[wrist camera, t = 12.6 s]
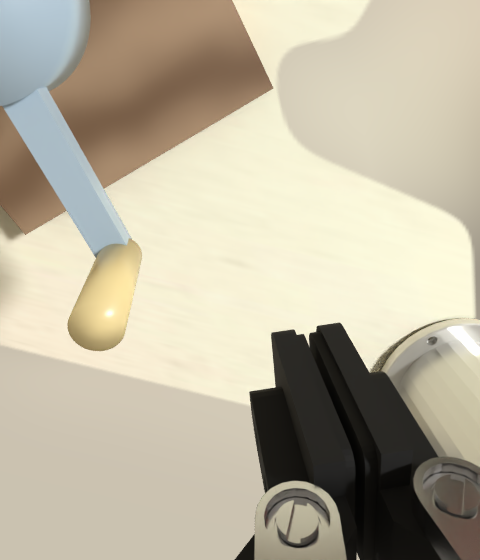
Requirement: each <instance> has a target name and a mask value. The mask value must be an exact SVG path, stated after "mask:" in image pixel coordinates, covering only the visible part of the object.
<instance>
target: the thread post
mask: <svg viewBox="0 0 480 560" xmlns="http://www.w3.org/2000/svg"><path fill="white" fill-rule="evenodd" d="M89 2H90V15H91V20H90V32H89V38H88V43H87V46H86V49H85V52H84V54H83V56H82V59H81V61H80V63H79V64H78V66H77V67H76V69H75V70H74V72H73V73H72V74H71V75H70V76H69V77H68V78H67V79H66V80H65V81H64V82H63V83H62V84H60V85H59V86H58V87H56V88H54V89H53V90H51V91H49V93H50V95H51V96H52V98H53V100H54V102H55V103H56V105H57V107H58V109H59V110H60V112H61V114H62V116H63V118H64V119H65V121H66V123H67V125H68V126H69V128H70V130H71V132H72V134H73V135H74V137H75V139H76V141H77V142H78V144H79V146H80V148H81V150H82V151H83V153H84V155H85V157H86V158H87V160H88V162H89V164H90V165H91V167H92V169H93V171H94V173H95V174H96V176H97V178H98V180H99V181H100V183H101V185H102V187H103V189H104V188H105V187H107V186H109V185H111V184H112V183H114V182H116V181H117V180H119V179H121V178H122V177H124V176H126V175H127V174H129V173H131V172H133V171H134V170H136V169H138V168H139V167H141V166H143V165H144V164H146V163H148V162H149V161H151V160H153V159H155V158H156V157H158V156H160V155H161V154H163V153H165V152H166V151H168V150H170V149H171V148H173V147H175V146H177V145H178V144H180V143H182V142H183V141H185V140H187V139H188V138H190V137H192V136H193V135H195V134H197V133H199V132H200V131H202V130H204V129H205V128H207V127H209V126H210V125H212V124H214V123H215V122H217V121H219V120H221V119H222V118H224V117H226V116H227V115H229V114H231V113H232V112H234V111H236V110H237V109H239V108H241V107H242V106H244V105H246V104H248V103H249V102H251V101H253V100H254V99H256V98H258V97H259V96H261V95H263V94H264V93H266V92H268V91H270V90H271V89H273V86H272V84H271V82H270V80H269V78H268V76H267V74H266V72H265V69H264V67H263V65H262V63H261V61H260V59H259V57H258V54H257V52H256V50H255V48H254V46H253V44H252V42H251V40H250V37H249V35H248V33H247V31H246V29H245V27H244V25H243V23H242V20H241V18H240V16H239V14H238V12H237V10H236V8H235V5H234V3H233V1H232V0H89ZM0 205H1V206H2V207H3V209H4V210H5V211H6V212H7V213H8V215H9V216H10V217H11V218H12V219H13V221H14V222H15V223H16V224H17V225H18V227H19V228H20V229H21V230H22V231H23V233H24V234H25V235H26V234H28V233H29V232H31V231H33V230H34V229H36V228H38V227H39V226H41V225H43V224H45V223H46V222H48V221H50V220H51V219H53V218H55V217H56V216H58V215H60V214H61V213H63V212H65V211H67V210H66V209H65V207H64V205H63V204H62V202H61V200H60V199H59V197H58V196H57V194H56V192H55V191H54V189H53V187H52V186H51V184H50V183H49V181H48V179H47V178H46V176H45V174H44V173H43V171H42V170H41V168H40V166H39V165H38V163H37V162H36V160H35V158H34V157H33V155H32V153H31V152H30V150H29V149H28V147H27V145H26V144H25V142H24V140H23V139H22V137H21V136H20V134H19V132H18V131H17V129H16V127H15V126H14V124H13V123H12V121H11V119H10V118H9V116H8V115H7V113H6V111H5V110H4V108H3V106H0Z"/></svg>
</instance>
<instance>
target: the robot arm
mask: <svg viewBox="0 0 480 560" xmlns="http://www.w3.org/2000/svg"><path fill="white" fill-rule="evenodd" d="M271 339H272V350H273V362H274V373H275V384H276V388H270V389H264V390H257V391H251V392H249V393H250V402H251V410H252V418H253V425H254V432H255V438H256V445H257V451H258V456H259V462H260V468H261V473H262V479H263V484H264V490H265V494H264V495H263V497H262V498H261V500H260V502H259V504H258V505H257V510H256V515H255V534H254V535H253V537H252V538H251V539H250V541H249V542H248V543H247V545H246V546H245V547H244V548H243V550H242V551H241V552H240V554H239V555H238V556H237V558H236V559H235V560H356V555H357V553H358V556H359V558H360V560H480V320H478V319H469V318H460V319H451V320H446V321H442V322H439V323H435V324H433V325H431V326H428V327H426V328H424V329H422V330H420V331H418V332H417V333H415V334H413V335H412V336H410V337H409V338H407V339H406V340H405V341H404V342H403V343H402V344H400V345H399V346H398V347H397V348H396V349H395V351H394V352H393V353H392V354H391V355H390V356H389V358H388V359H387V361H386V363H385V364H384V366H383V368H382V370H381V371H380V372H374V373H369V371H368V369H367V368H366V366H365V364H364V362H363V361H362V359H361V357H360V355H359V354H358V352H357V350H356V348H355V347H354V345H353V343H352V341H351V340H350V338H349V336H348V334H347V333H346V331H345V329H344V327H343V326H342V324H341V323H334V324H327V325H321V326H317V329H316V332H314V333H310V335H309V344H310V348H309V345H308V343H307V340H306V338H305V336H304V334H301V335H296V332H295V330H287V331H280V332H273V333H272V334H271Z"/></svg>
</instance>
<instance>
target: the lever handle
mask: <svg viewBox="0 0 480 560" xmlns="http://www.w3.org/2000/svg"><path fill="white" fill-rule="evenodd" d="M90 20H91V15H90V2H89V0H0V106H3V108H4V110H5V111H6V113H7V115H8V116H9V118H10V119H11V121H12V123H13V124H14V126H15V127H16V129H17V131H18V132H19V134H20V136H21V137H22V139H23V140H24V142H25V144H26V145H27V147H28V149H29V150H30V152H31V153H32V155H33V157H34V158H35V160H36V162H37V163H38V165H39V166H40V168H41V170H42V171H43V173H44V174H45V176H46V178H47V179H48V181H49V183H50V184H51V186H52V187H53V189H54V191H55V192H56V194H57V196H58V197H59V199H60V200H61V202H62V204H63V205H64V207H65V209H66V210H67V212H68V213H69V215H70V217H71V218H72V220H73V222H74V223H75V225H76V226H77V228H78V230H79V231H80V233H81V234H82V236H83V238H84V239H85V241H86V243H87V244H88V246H89V247H90V249H91V251H92V252H93V254H94V256H95V257H96V260H95V262H94V264H93V266H92V268H91V271H90V273H89V275H88V277H87V279H86V282H85V284H84V286H83V288H82V291H81V293H80V295H79V297H78V299H77V302H76V304H75V306H74V308H73V310H72V313H71V315H70V317H69V320H68V331H69V334H70V336H71V338H72V339H73V340H74V341H75V342H76V343H77V344H78V345H80V346H81V347H83V348H85V349H88V350H93V351H104V350H108V349H111V348H113V347H115V346H116V345H118V344H119V343H120V342H121V340H122V339H123V337H124V334H125V330H126V325H127V321H128V317H129V312H130V308H131V304H132V299H133V295H134V290H135V286H136V282H137V277H138V273H139V269H140V264H141V260H142V252H141V249H140V247H139V246H138V244H137V243H136V242H135V241H133V240H132V238H131V236H130V235H129V233H128V231H127V229H126V228H125V226H124V224H123V222H122V221H121V219H120V217H119V215H118V213H117V212H116V210H115V208H114V206H113V205H112V203H111V201H110V199H109V197H108V196H107V194H106V192H105V190H104V189H103V187H102V185H101V183H100V181H99V180H98V178H97V176H96V174H95V173H94V171H93V169H92V167H91V165H90V164H89V162H88V160H87V158H86V157H85V155H84V153H83V151H82V150H81V148H80V146H79V144H78V142H77V141H76V139H75V137H74V135H73V134H72V132H71V130H70V128H69V126H68V125H67V123H66V121H65V119H64V118H63V116H62V114H61V112H60V110H59V109H58V107H57V105H56V103H55V102H54V100H53V98H52V96H51V95H50V93H49V91H51V90H53V89H54V88H56V87H58V86H59V85H60V84H62V83H63V82H64V81H65V80H66V79H67V78H68V77H69V76H70V75H71V74H72V73H73V72H74V70H75V69H76V67H77V66H78V64H79V63H80V61H81V59H82V56H83V54H84V52H85V49H86V46H87V43H88V38H89V32H90Z"/></svg>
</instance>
